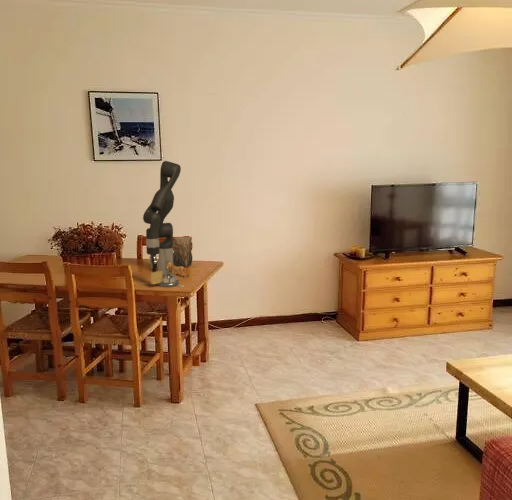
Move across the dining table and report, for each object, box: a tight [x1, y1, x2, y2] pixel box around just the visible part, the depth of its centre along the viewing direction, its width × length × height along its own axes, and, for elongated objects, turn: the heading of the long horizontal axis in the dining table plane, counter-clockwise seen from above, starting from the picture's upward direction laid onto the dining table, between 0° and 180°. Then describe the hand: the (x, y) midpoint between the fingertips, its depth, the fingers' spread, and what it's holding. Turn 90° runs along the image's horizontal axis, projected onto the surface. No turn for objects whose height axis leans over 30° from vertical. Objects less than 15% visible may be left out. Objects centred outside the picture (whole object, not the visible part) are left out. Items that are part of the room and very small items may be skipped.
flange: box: [157, 274, 180, 288], centre depth 295 cm, size 12×12×6 cm
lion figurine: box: [166, 263, 190, 278], centre depth 314 cm, size 15×5×9 cm, turn 87°
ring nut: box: [150, 270, 178, 285], centre depth 293 cm, size 16×10×7 cm, turn 129°
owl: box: [173, 235, 193, 269], centre depth 342 cm, size 13×13×20 cm
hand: (154, 274), depth 294 cm, fingers closed
